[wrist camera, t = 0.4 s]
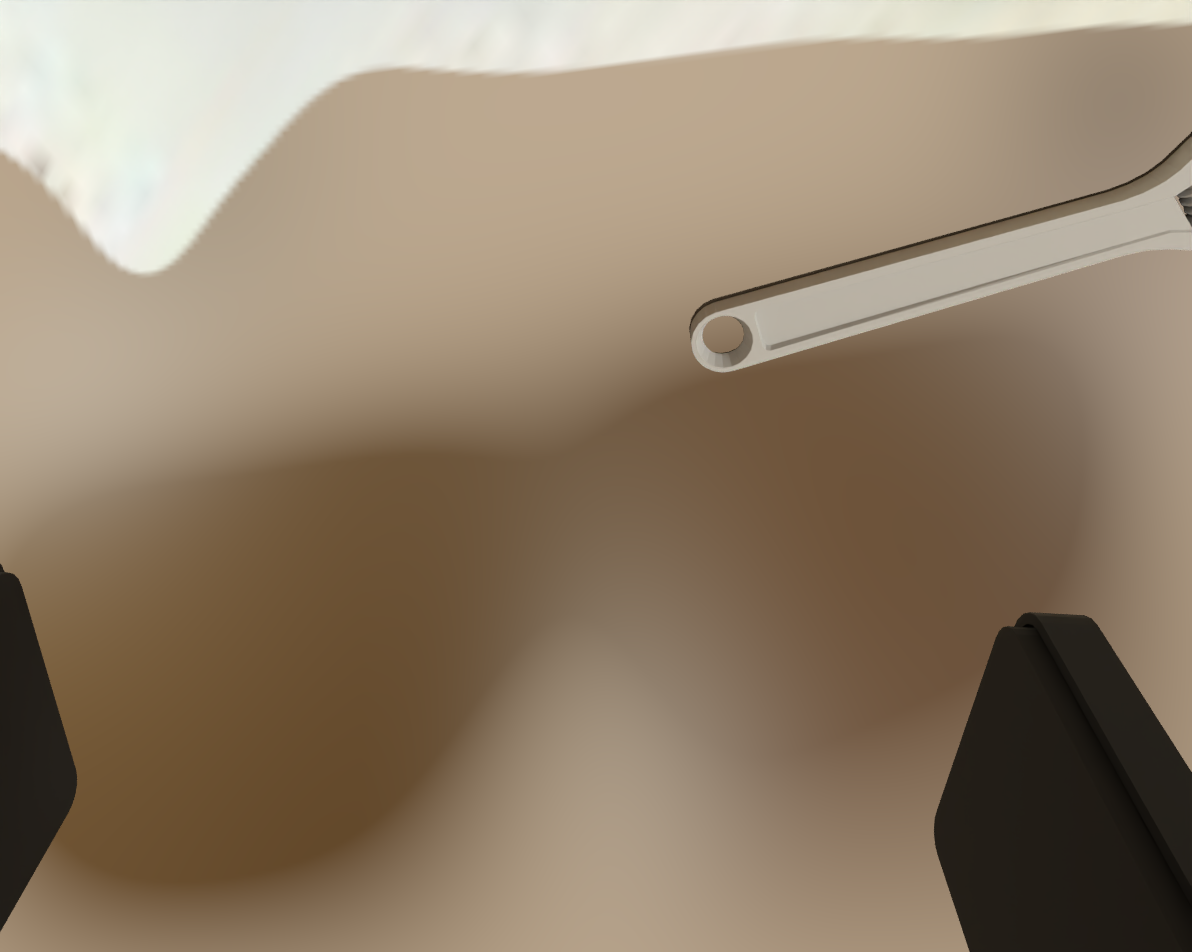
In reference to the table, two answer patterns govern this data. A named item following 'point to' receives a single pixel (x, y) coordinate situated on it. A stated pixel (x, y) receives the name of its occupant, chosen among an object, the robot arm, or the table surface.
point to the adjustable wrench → (955, 267)
